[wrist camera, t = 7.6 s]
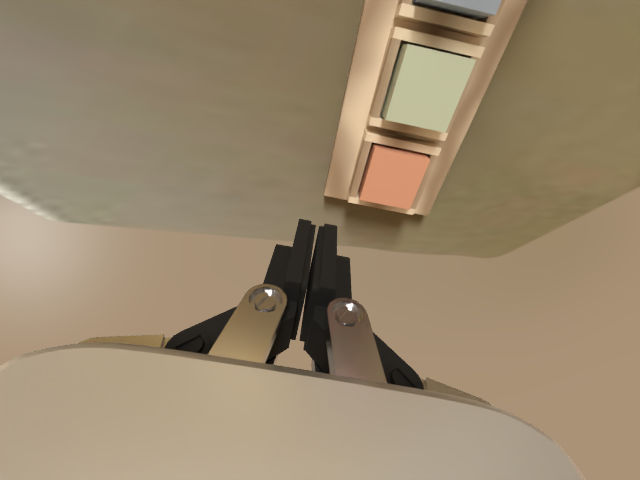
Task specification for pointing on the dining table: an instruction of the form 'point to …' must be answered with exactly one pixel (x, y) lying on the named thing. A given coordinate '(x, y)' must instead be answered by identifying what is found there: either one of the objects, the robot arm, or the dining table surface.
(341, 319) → the robot arm
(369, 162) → the terracotta button
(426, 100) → the sage button
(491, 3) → the slate button
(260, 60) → the dining table surface
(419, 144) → the button panel
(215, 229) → the dining table surface
